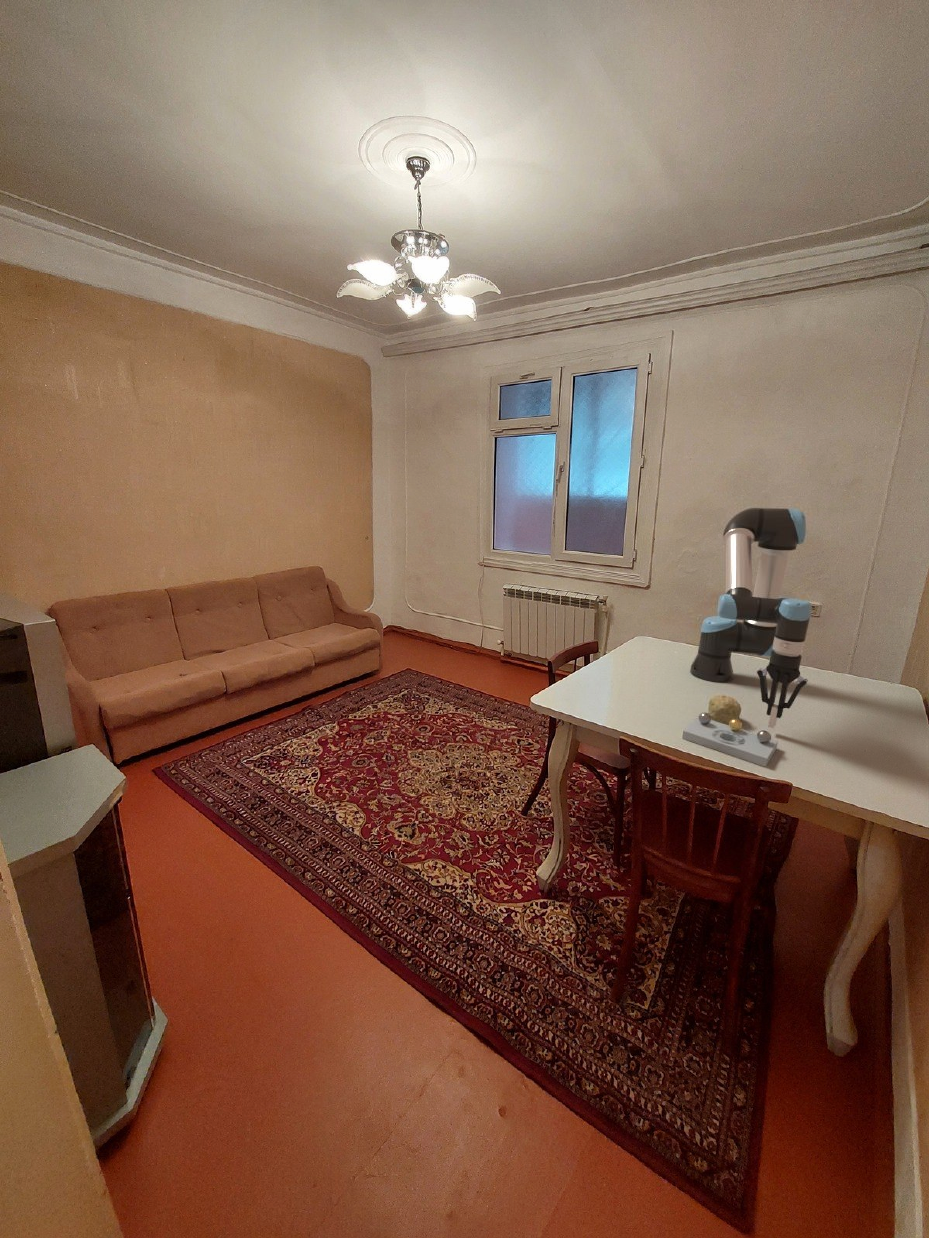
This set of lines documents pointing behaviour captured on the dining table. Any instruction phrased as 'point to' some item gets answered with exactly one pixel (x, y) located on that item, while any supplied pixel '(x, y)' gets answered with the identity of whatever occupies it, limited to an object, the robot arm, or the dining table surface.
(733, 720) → the brass ball
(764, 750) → the grey flat block
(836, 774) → the dining table surface
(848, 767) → the dining table surface
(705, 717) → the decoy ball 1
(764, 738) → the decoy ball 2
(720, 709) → the decorative object
